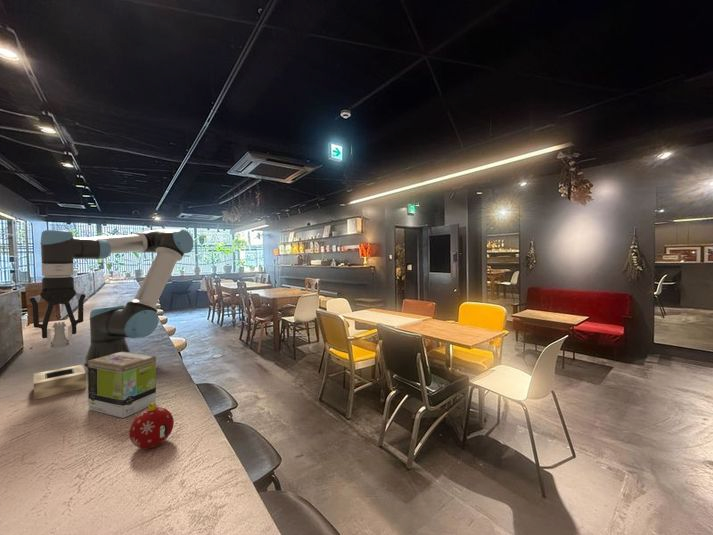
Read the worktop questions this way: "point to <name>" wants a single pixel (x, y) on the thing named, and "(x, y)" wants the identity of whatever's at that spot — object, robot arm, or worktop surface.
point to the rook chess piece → (59, 336)
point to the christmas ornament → (151, 427)
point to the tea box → (121, 383)
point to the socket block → (59, 381)
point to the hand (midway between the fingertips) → (59, 345)
